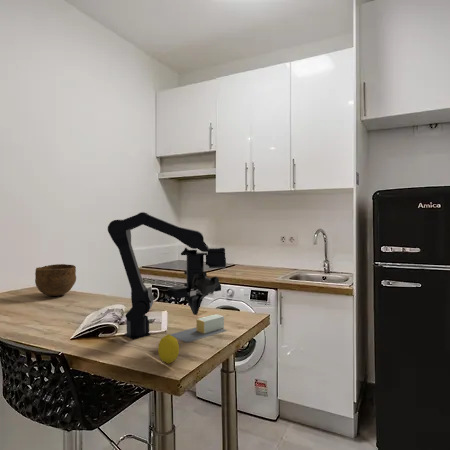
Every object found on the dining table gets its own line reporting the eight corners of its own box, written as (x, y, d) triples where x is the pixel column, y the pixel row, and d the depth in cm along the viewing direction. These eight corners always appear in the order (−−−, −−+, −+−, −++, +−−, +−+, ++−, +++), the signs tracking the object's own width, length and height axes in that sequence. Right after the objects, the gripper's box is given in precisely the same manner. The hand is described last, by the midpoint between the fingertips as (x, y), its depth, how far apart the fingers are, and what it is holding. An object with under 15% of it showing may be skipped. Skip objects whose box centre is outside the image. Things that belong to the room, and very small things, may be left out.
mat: (186, 343, 107) (186, 342, 107) (169, 335, 115) (169, 334, 115) (227, 331, 119) (227, 330, 119) (209, 324, 126) (209, 323, 126)
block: (203, 321, 115) (223, 316, 121) (196, 319, 118) (216, 314, 124) (203, 333, 116) (223, 327, 121) (196, 330, 119) (216, 325, 125)
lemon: (159, 360, 95) (159, 331, 95) (179, 359, 96) (179, 330, 96) (157, 369, 90) (156, 338, 90) (178, 368, 90) (178, 337, 90)
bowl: (66, 300, 165) (65, 269, 165) (27, 300, 166) (26, 269, 165) (83, 291, 184) (82, 263, 184) (48, 291, 184) (47, 263, 184)
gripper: (186, 274, 103) (186, 326, 104) (232, 268, 116) (232, 314, 116) (166, 270, 112) (166, 318, 112) (210, 264, 124) (211, 307, 124)
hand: (195, 314), depth 116 cm, fingers closed
